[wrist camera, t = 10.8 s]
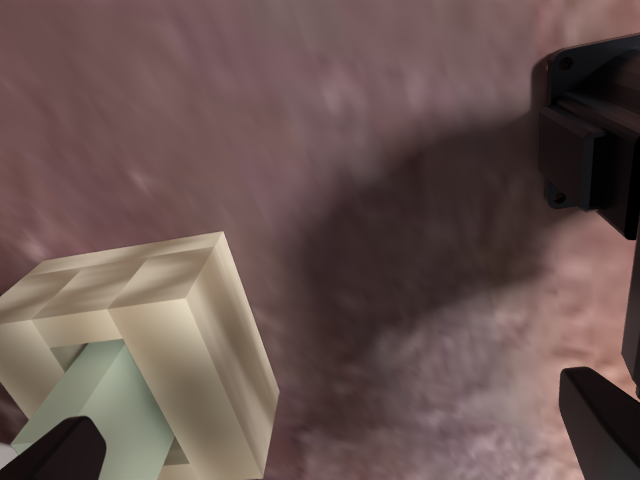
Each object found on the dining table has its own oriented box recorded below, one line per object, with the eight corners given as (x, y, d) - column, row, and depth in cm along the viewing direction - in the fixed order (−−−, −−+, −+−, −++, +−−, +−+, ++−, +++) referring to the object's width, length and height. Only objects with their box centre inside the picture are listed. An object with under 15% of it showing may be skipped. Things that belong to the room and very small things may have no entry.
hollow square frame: (223, 231, 22) (185, 298, 17) (279, 391, 27) (262, 478, 22) (43, 260, 23) (-39, 329, 18) (128, 406, 28) (81, 490, 23)
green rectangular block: (155, 299, 22) (62, 439, 15) (196, 385, 25) (133, 538, 18) (117, 304, 22) (8, 444, 15) (161, 389, 25) (86, 541, 18)
